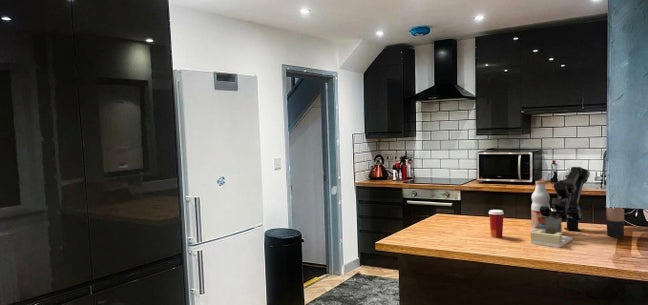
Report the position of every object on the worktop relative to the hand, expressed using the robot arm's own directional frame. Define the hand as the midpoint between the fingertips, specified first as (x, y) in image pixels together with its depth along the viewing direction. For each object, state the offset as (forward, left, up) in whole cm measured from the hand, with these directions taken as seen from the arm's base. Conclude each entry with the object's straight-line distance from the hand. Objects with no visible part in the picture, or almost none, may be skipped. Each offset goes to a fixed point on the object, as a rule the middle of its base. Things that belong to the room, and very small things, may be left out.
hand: (556, 225), depth 224 cm
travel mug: (-4, +31, -7) cm, 32 cm away
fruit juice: (-17, -1, -7) cm, 19 cm away
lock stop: (+3, -2, -5) cm, 6 cm away
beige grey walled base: (+5, -4, -7) cm, 9 cm away
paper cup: (-6, -28, -7) cm, 29 cm away
